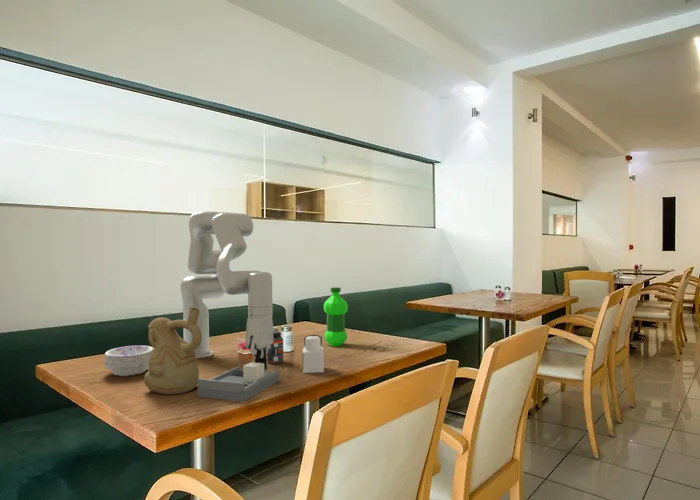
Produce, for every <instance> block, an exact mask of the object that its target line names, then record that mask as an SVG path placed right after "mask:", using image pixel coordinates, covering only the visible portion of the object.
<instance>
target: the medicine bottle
mask: <svg viewBox="0 0 700 500" xmlns="http://www.w3.org/2000/svg"><path fill="white" fill-rule="evenodd" d="M303 341H304V345H303V346H304V347H303V348H302V373H303V374H313V373H314V374H316V373H324V372H325V360H324V359H325V356H324V355H325V354H324V348H323V338H322V335H321V336H320V335H318V334H310V335H306V336H305V337H304V338H303Z"/></svg>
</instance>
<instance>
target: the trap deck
mask: <svg viewBox="0 0 700 500" xmlns="http://www.w3.org/2000/svg"><path fill="white" fill-rule="evenodd" d="M197 380H198V384H197V397H198V398H199V397H200V398H206V399H216V400H217V399H218V400H225V401H235V402H241V403H243V402H246V401H247V400H248V399H251V398H252V397H254V396H255V395H257V394H259V393H261V392H262V391H264V390H265V389H268V388H269V387H270V386H272V385H274V384H276V383H277V382H280V369H276V370H275V371H266V370H264V377H263V378H261V379H259V380H258V381H256V382H248V381H243V368H242V369H241V366H239V365H238V366H237V367H234V368H231V369H229V370H227V371H225V372H222V373H221V374H217V376H213V377H211V378H209V379H207V378H206V379H205V378H199V379H197Z"/></svg>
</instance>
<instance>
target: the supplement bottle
mask: <svg viewBox="0 0 700 500" xmlns="http://www.w3.org/2000/svg"><path fill="white" fill-rule="evenodd" d="M283 362H284V338H283V337H282V336H281V331H279V330H273V343H272V344H271V347H270V348H269V349H268V354H267V364H273V365H275V364H282V363H283Z"/></svg>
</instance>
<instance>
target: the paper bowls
mask: <svg viewBox="0 0 700 500" xmlns="http://www.w3.org/2000/svg"><path fill="white" fill-rule="evenodd" d="M154 349H155V348H154V347H152V346H150V345H127V346H121V347H115V348H111V349H109V350H107V351H106V352H105V353H104V369H106V370H110V371H111V372H112V374H113V375H115V376H116V375H119V376H118V377H129V376H128V375H132V376H136V375H135V374H137V375H141V374H143V373H144V372H146V370H147V369H148V368H149V366H148V364H149V358H150V355H151V353H152V352H153V350H154Z"/></svg>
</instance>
